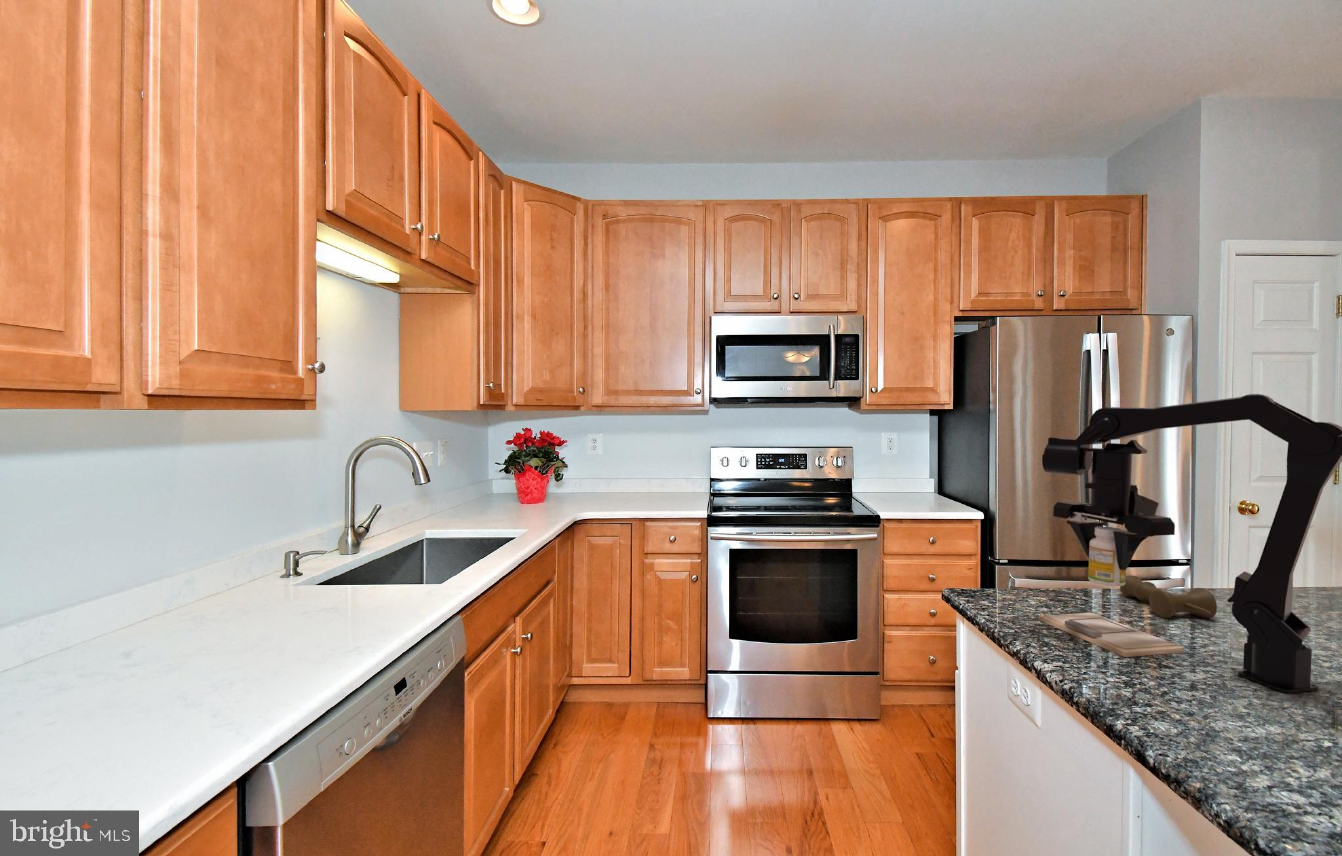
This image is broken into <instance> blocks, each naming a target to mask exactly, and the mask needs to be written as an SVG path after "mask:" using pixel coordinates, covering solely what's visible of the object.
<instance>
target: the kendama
mask: <svg viewBox="0 0 1342 856" xmlns="http://www.w3.org/2000/svg"><path fill="white" fill-rule="evenodd" d="M1119 589H1120V593H1121V594H1122V595H1123V596H1124V597H1125V598H1131V599H1132V598H1133V599H1135V598H1136V599H1138V600H1139V601H1141V602H1149V607H1150V609H1151V612H1153V614H1154V615H1155V614H1156V615H1155V616H1158V617H1159V616H1160V618H1162V619H1169V618H1172V617H1173V616H1175V615H1176V614H1179V613H1190V614H1193V615H1195V616H1197V617H1199V618H1201V619H1205V618H1206V619H1205V620H1210V619H1214V617H1215V616H1216V614H1217V610H1218V606H1217V605H1218V604H1217V600H1216V598H1215V596H1214V594H1212V592H1210V591H1209V590H1207V589H1205V588H1202V587H1195V588H1193V589H1190V591H1189V592H1188V593H1186V594H1173V593H1170V592H1168V591H1166V590H1162V589H1158V588H1157V586H1156V585H1155V583H1153V582H1150V581H1143V580H1142V578H1140V577H1138V576H1137V575H1131V574H1130V575H1126V580H1125V585H1123V586H1119Z"/></svg>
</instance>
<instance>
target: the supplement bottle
mask: <svg viewBox="0 0 1342 856" xmlns="http://www.w3.org/2000/svg"><path fill="white" fill-rule="evenodd" d="M1113 531H1123V528H1118V527H1112V526H1103V527H1102V526H1100V527H1095V535H1096V538H1094V539H1091V540H1090V544H1089V559H1088V571H1087V572H1088V575H1087V576H1088V577H1087V578H1088V580H1089V581H1090V582H1091V583H1094V584H1097V585H1102V586H1108V587H1120V586H1123V585H1125V580H1126V576H1127V575H1126V574H1127V572H1126V571H1127V569H1126V570H1120V569H1119V566H1118V562H1117V555H1116V547H1115V540H1114V532H1113Z"/></svg>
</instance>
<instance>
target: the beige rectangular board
mask: <svg viewBox="0 0 1342 856" xmlns="http://www.w3.org/2000/svg"><path fill="white" fill-rule="evenodd" d="M1038 621H1040V622H1042V623H1045V624H1047V625H1050V626H1052V627H1054V628H1057V629H1058V630H1060V631H1064V632H1066V633H1068V634H1070V635H1072V636H1075V637H1077V638H1079V639H1082V640H1084V641H1086V642H1089V643H1091V644H1094V645H1096V646H1098V647H1101V648H1103V649H1105V650H1108V651H1110V652H1112V653H1114V654H1116V655H1119V656H1121V657H1124V658H1128V657H1129V658H1131V657H1142V656H1143V657H1144V656H1154V655H1166V654H1167V655H1169V654H1181V653H1185V647H1183V646H1180V645H1178V644H1176V643H1173V642H1171V641H1168V640H1165V639H1163V638H1160V637H1157V636H1155V635H1152V634H1149V633H1148V632H1144V631H1142V630H1139V629H1136V628H1133V627H1131V626H1128V625H1125V624H1123V623H1120V622H1118V621H1114V620H1113V619H1109V618H1107V617H1104V616H1102V615H1099V614H1096V613H1093V612H1083V613H1082V612H1081V613H1067V614H1065V613H1063V614H1051V615H1050V614H1049V615H1046V614H1045V615H1039V616H1038Z"/></svg>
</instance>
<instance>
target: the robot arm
mask: <svg viewBox="0 0 1342 856" xmlns="http://www.w3.org/2000/svg"><path fill="white" fill-rule="evenodd" d="M1090 416H1091V417H1090V419H1089V424H1088V426H1086V428H1085V429H1084V430H1083V431H1082V432H1081V433H1080V434H1079V435H1078V436H1077V438H1063V437H1059V436H1058V437H1055V436H1051V437H1048V439H1047V444H1046V446H1045V448H1044V450H1043V454H1042V456H1041V464H1042V469H1043V470H1044V472H1045V473H1047V474H1061V475H1074V476H1083V475H1084V474H1085V471H1090V470H1091V477H1090V479H1091V481H1089V482H1087V481H1085V482H1084V483H1085V484H1084V485H1085V487H1084V488H1085V489H1090V501H1089V502H1082V501H1081V502H1080V501H1057V502H1056V503H1055V504H1054V506H1053V510H1052V511H1053V512H1052V513H1053V514H1052V515H1053V517H1054V518H1055V517H1056V518H1060V519H1068V518H1069V520H1066V521H1065V522H1066V524H1067V525H1069V526H1070V527H1071V529H1072V531H1073V532H1074V534H1075V535H1076V537H1077V539H1078V541H1079V543H1080V545H1081V546H1082V549H1083V550H1084V553H1085V555H1086V556H1087V559H1088V560H1089V544H1090V540H1091V539H1094V538H1096V535H1095V527H1100V526H1102V527H1104V525H1105V524H1106V523H1110V524H1115V525H1120V526H1123V527H1122V531H1113V532H1114V540H1115V547H1116V555H1117V562H1118V566H1119V569H1120V570H1126V571H1127V568H1128V567H1129V565H1130V563H1131V561H1132V559H1133V557H1134V554H1135V553H1136V551H1137V550H1138V548H1139V546H1140V545H1141V544H1142V542H1143V541H1145V540H1146V539H1148V538H1149V537H1156V536H1158V537H1159V536H1172V535H1173V536H1175V531H1176V530H1175V529H1176V525H1175V522H1174V521H1173V520H1172V519H1171V517H1167V516H1162V515H1157V514H1156V513H1157V511H1158V507H1159V502H1157V501H1155V500H1153V499H1151V498H1148V497H1146V496H1143V495H1140V494H1139V488H1138V487H1137V484H1132V470H1133V469H1132V464H1133V461H1132V460H1133V455H1143V454H1147V453H1148V450H1147V449H1146V448H1145V447H1143V446H1142V445H1140V443H1139V442H1138V440H1137V439H1130V440H1129V441H1128V442H1127V443H1117V442H1115V443H1113V442H1109V441H1114V440H1117V441H1118V440H1125V439H1129V438H1133V437H1137V436H1141V435H1144V434H1149V433H1151V432H1156V431H1159V430H1163V429H1173V428H1181V427H1192V426H1200V425H1201V426H1202V425H1210V424H1211V425H1212V424H1219V423H1230V422H1231V423H1232V422H1241V421H1251V422H1253V423H1254V424H1256V425H1257V426H1259V427H1261V428H1263V429H1264V430H1266V431H1267V432H1269V433H1270V434H1272V435H1274V436H1275V437H1277V438H1279V439H1280V440H1282V441H1285V442H1286V443H1287V452H1286V453H1287V455H1286V482H1285V485H1284V489H1283V491H1282V493H1281V498H1280V500H1279V503H1278V505H1277V508H1276V511H1275V514H1274V517H1273V521H1272V524H1271V527H1270V529H1269V531H1268V535H1267V538H1266V541H1265V543H1264V547H1263V549H1262V552H1261V555H1260V559H1259V561H1258V564H1257V566H1256V568H1255V570H1254V571H1253V573H1249V572H1247V571H1245V570H1244V571H1243V572H1241V573H1240V574H1239V575H1237V576H1236V577H1235V581H1234V589H1233V592H1232V595H1230V597H1229V598H1228V599H1227V600H1226V601H1227V602H1228V603H1232V604H1231V615H1232V617H1234V619H1235V620H1236V621H1237V623H1238V624H1239V625H1241V626H1242V627H1243V628H1244V629H1246V632H1247V636H1246V642H1245V643H1243V658H1242V659H1243V661H1242V668H1243V670H1238V671H1237V675H1238V676H1240V677H1243V678H1245V679H1249V680H1250V681H1254V682H1256V683H1258V684H1261V685H1264V686H1265V687H1269V688H1271V689H1274V690H1277V691H1279V692H1282V693H1285V694H1291V693H1301V692H1302V693H1303V692H1313V691H1319V690H1320V689H1319V687H1320V686H1318V685H1316V684H1313V683H1311V681H1312V679H1311V678H1312V676H1311V675H1312V658H1313V657H1312V656H1313V655H1312V654H1313V650H1312V648H1311V647H1307V646H1306V645H1305V644H1303V643H1304V641H1305V640H1306V639H1307V637H1308V635H1309V634H1310V632H1311V630H1312V628H1311V626H1309V625H1308V624H1307V623H1306V622H1304V620H1302V619H1301V618H1300V617H1299V616H1298V615H1297V614H1296V613H1295V612H1293V610H1292V606H1293V596H1294V595H1293V594H1294V587H1293V586H1294V584H1293V583H1294V571H1295V569H1296V567H1297V564H1298V561H1299V558H1300V555H1301V552H1302V550H1303V547H1304V544H1305V540H1306V538H1307V535H1308V533H1309V529H1310V527H1311V524H1312V521H1313V519H1314V515H1315V513H1316V510H1317V507H1318V504H1319V502H1320V499H1321V496H1322V493H1323V491H1324V488H1325V487H1326V485H1327V483H1328V481H1330V479H1331V478H1332V476H1333V475H1334V474H1335V472H1336V471H1337V470H1338V468H1339V466H1340V465H1341V464H1342V426H1340V425H1338V424H1336V423H1333V422H1329V421H1328V422H1327V421H1326V422H1325V421H1314V420H1312V419H1311V418H1309V417H1307V416H1304V415H1303V414H1301V413H1300V412H1298V411H1297V412H1296V411H1295V410H1292V409H1290V408H1288V407H1286V406H1285V405H1282V404H1280V403H1279V402H1277V401H1275V400H1274V399H1273V398H1272V397H1270V396H1269V395H1265V394H1263V393H1262V394H1261V393H1250V394H1246V395H1243V396H1237V397H1229V398H1221V399H1213V400H1206V401H1197V402H1191V403H1190V402H1189V403H1184V404H1183V403H1182V404H1173V405H1166V406H1165V405H1164V406H1160V407H1159V406H1158V407H1122V406H1121V407H1118V406H1117V407H1116V406H1115V407H1113V406H1110V407H1109V406H1108V407H1107V406H1106V407H1105V406H1104V407H1102V408H1098V409H1097V410H1095V411H1094V413H1092V414H1091V415H1090ZM1105 443H1106V444H1105ZM1101 444H1102V445H1103V444H1105V445H1104V448H1100V447H1090V445H1101Z"/></svg>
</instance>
